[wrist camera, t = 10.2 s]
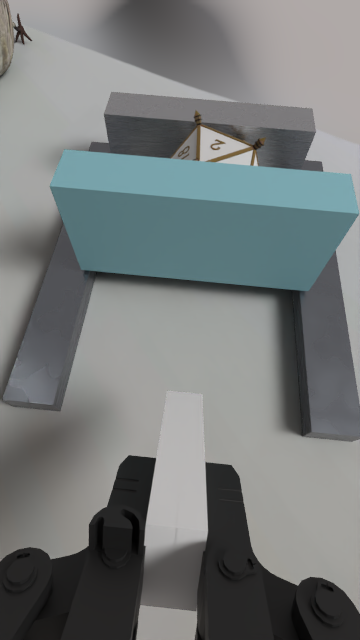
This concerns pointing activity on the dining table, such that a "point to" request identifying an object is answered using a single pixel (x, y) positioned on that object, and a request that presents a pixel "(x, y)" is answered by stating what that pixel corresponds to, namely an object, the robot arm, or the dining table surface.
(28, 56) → the dining table surface
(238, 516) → the robot arm
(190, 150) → the game die
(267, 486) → the dining table surface
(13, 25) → the decorative bird
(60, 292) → the vise base
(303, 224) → the sliding jaw
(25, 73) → the dining table surface
